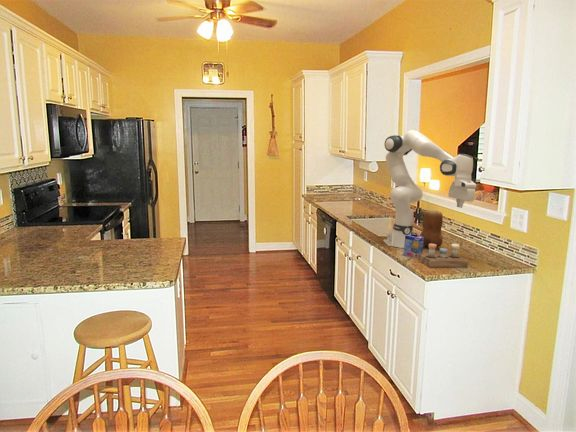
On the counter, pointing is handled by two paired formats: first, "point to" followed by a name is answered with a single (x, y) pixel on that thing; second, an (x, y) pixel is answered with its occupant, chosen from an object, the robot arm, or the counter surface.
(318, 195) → the counter surface
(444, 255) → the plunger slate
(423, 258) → the wooden board with holes
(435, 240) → the brown rounded block
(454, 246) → the plunger cream
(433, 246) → the plunger terracotta
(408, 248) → the ink cartridge box
